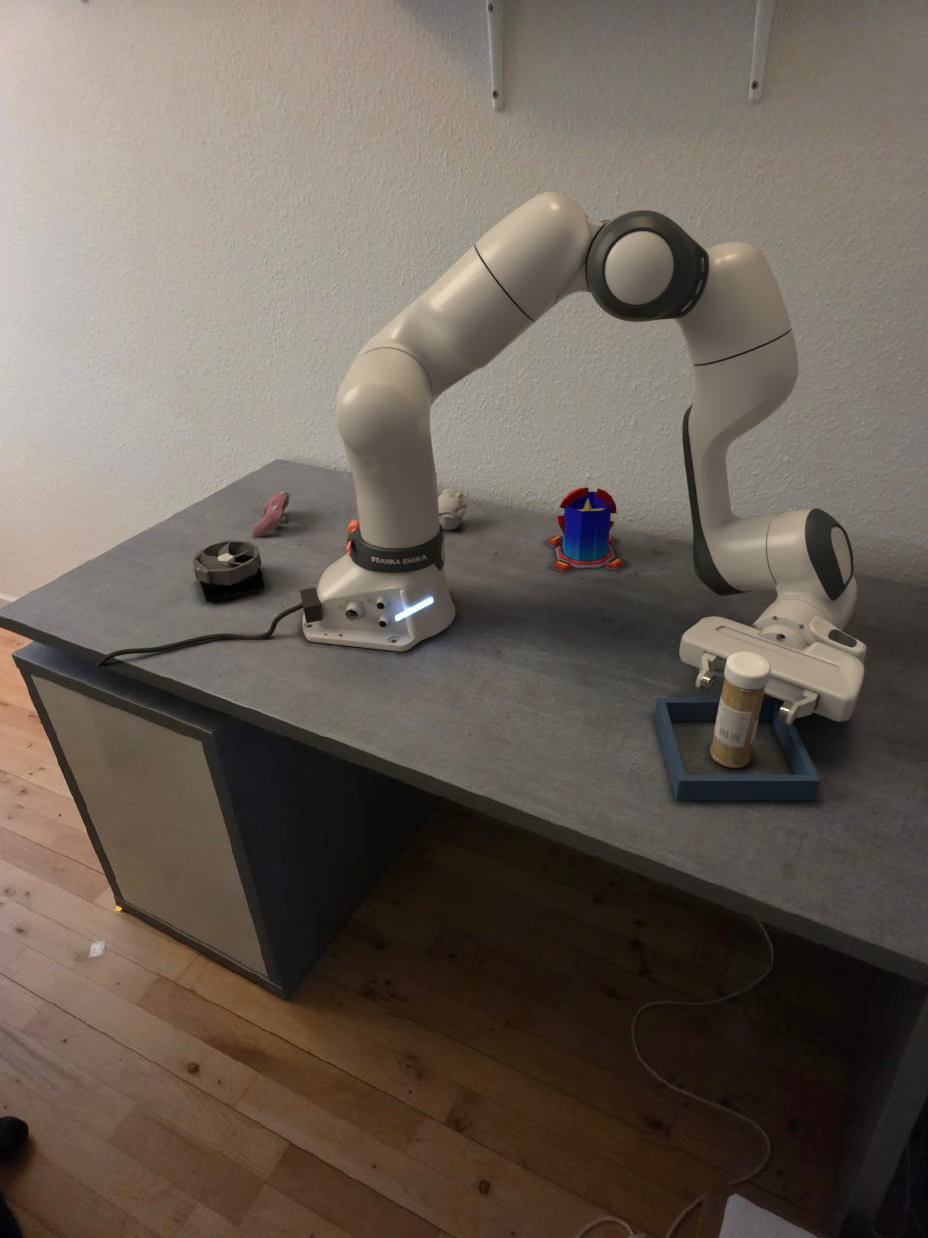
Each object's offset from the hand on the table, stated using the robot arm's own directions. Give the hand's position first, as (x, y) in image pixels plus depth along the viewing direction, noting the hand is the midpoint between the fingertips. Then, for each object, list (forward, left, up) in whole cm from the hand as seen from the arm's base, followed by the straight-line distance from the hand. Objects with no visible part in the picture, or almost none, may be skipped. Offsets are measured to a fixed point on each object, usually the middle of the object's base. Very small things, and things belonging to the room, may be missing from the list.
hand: (742, 700), depth 87 cm
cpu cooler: (-69, +38, -8) cm, 80 cm away
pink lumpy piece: (-67, +59, -8) cm, 90 cm away
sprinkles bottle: (0, -1, -8) cm, 8 cm away
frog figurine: (-35, +57, -8) cm, 68 cm away
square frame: (0, -1, -8) cm, 8 cm away
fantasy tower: (-12, +47, -8) cm, 50 cm away
